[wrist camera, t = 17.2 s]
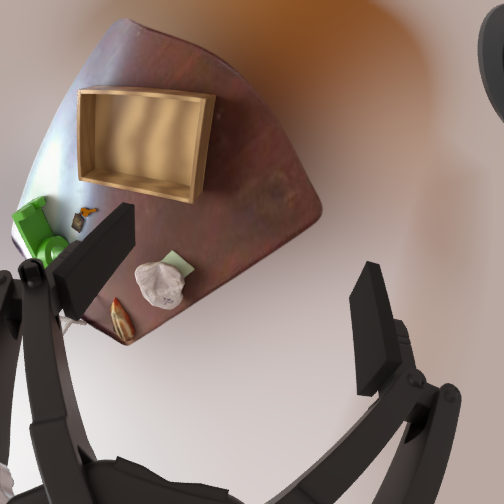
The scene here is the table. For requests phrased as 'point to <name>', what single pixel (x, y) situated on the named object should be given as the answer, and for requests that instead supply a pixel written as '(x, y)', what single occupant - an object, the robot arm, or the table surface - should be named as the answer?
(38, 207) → the green bracket part
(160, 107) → the tray
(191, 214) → the table surface
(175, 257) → the mat
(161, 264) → the fossil
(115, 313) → the decorative stone
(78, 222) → the key tag
